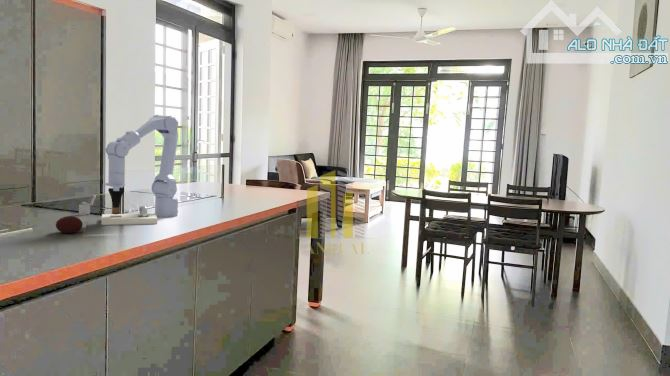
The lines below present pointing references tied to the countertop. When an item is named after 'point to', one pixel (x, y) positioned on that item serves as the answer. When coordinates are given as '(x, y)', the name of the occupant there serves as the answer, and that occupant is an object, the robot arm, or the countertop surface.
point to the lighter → (86, 206)
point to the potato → (69, 224)
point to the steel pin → (143, 211)
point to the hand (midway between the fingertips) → (116, 206)
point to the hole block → (127, 219)
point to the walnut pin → (115, 210)
